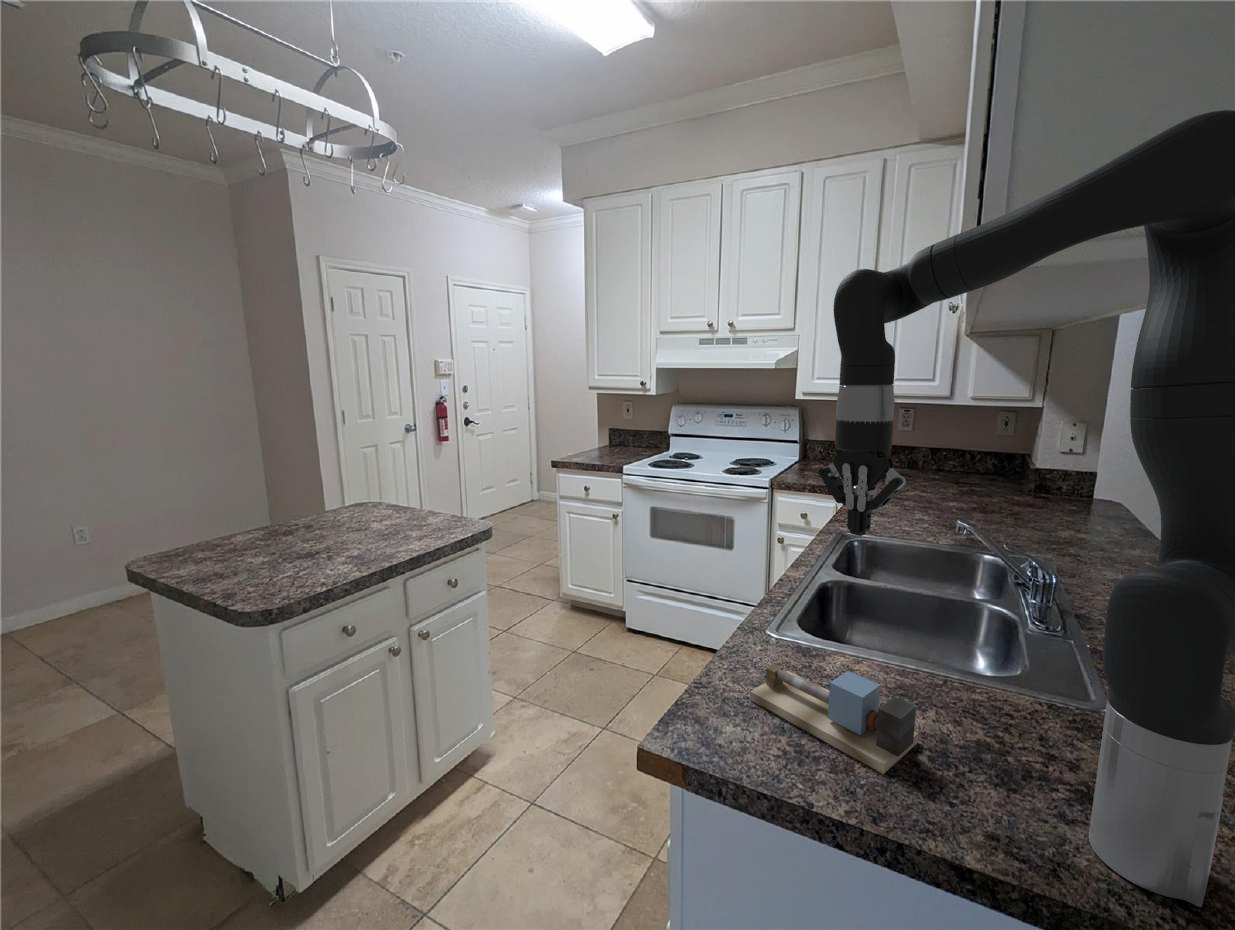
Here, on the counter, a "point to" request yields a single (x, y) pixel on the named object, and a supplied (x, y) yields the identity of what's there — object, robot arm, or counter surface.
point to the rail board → (809, 711)
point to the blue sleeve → (852, 701)
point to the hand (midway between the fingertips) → (858, 534)
